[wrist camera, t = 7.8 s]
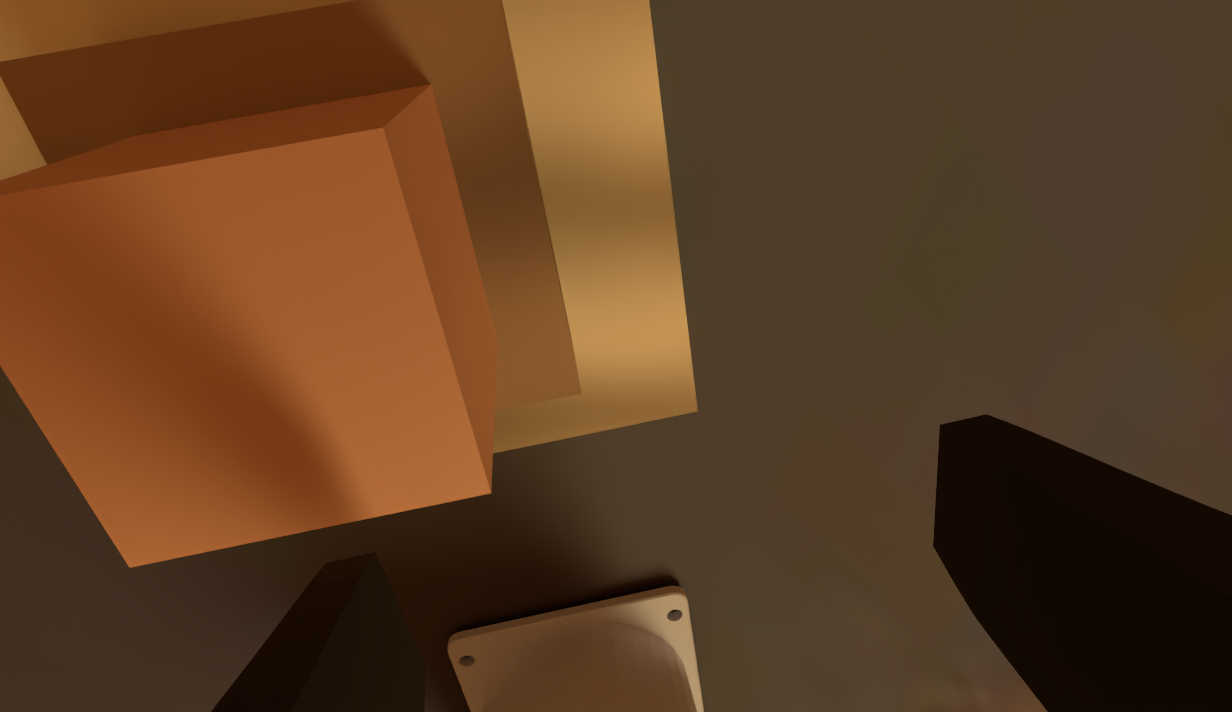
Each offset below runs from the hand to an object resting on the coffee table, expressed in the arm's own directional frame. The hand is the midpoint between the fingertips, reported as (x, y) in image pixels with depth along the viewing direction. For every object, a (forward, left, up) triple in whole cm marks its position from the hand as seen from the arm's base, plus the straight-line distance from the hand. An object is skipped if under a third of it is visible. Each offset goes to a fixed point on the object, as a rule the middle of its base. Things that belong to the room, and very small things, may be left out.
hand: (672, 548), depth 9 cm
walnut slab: (+3, +5, -9) cm, 11 cm away
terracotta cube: (+3, +5, -6) cm, 8 cm away
